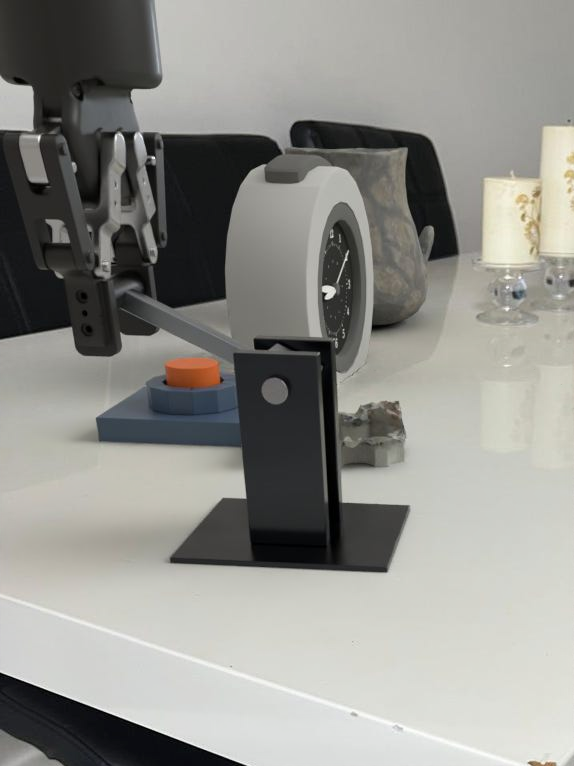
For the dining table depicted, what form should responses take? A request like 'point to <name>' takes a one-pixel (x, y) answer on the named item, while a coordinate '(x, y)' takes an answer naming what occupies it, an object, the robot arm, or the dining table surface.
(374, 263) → the vessel
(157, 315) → the grey crank handle
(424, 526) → the dining table surface
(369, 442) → the egg carton
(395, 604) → the dining table surface
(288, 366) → the black lever stand
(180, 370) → the button
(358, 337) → the alarm clock
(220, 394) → the control block
